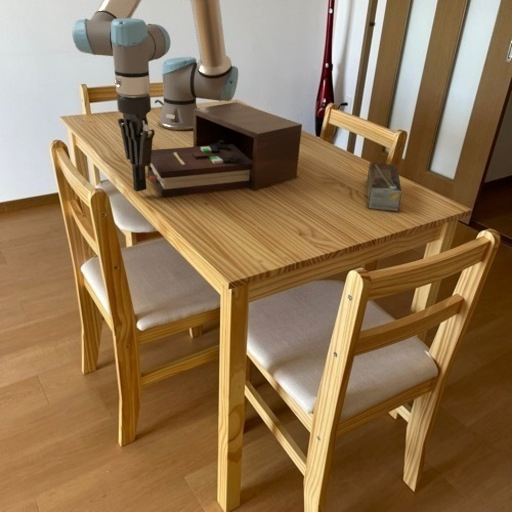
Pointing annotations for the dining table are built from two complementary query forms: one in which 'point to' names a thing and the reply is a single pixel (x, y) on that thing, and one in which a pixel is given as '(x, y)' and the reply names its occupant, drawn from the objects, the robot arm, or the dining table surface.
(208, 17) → the robot arm
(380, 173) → the beverage carton
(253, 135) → the walnut shelf
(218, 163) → the decorative book
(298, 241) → the dining table surface
